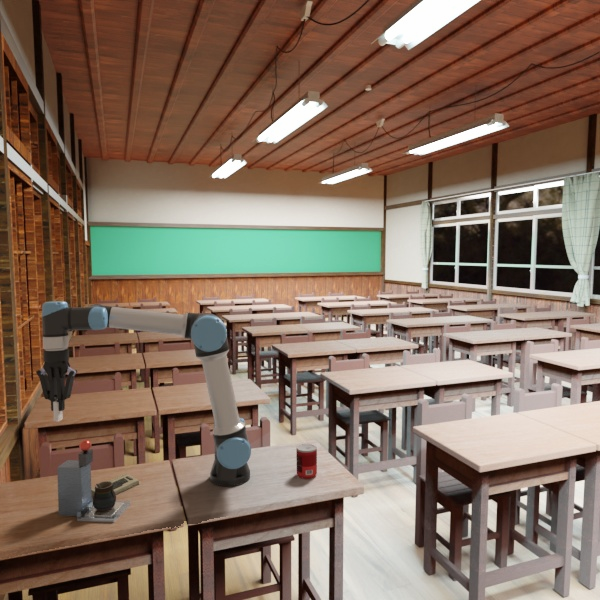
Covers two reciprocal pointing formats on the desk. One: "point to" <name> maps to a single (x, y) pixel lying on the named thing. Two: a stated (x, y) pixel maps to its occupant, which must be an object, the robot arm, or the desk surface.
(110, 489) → the mate gourd
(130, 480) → the computer
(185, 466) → the desk surface
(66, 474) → the press
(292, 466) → the desk surface
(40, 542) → the desk surface
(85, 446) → the lever
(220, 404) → the robot arm
